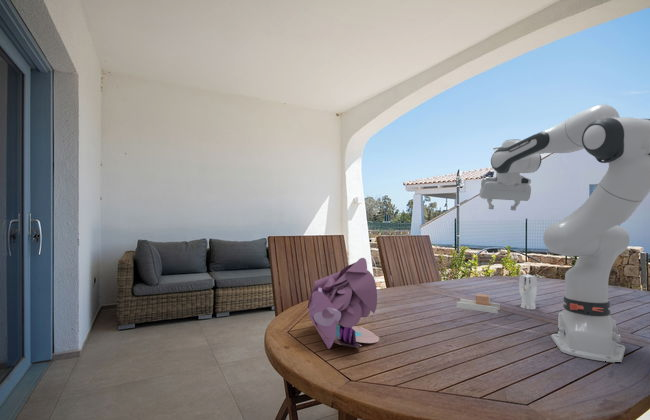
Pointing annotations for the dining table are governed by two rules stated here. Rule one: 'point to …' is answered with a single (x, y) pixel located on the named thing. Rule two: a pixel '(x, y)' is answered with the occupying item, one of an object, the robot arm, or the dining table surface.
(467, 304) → the chute
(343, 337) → the flower arrangement
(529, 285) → the beer glass
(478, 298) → the block
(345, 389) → the dining table surface
